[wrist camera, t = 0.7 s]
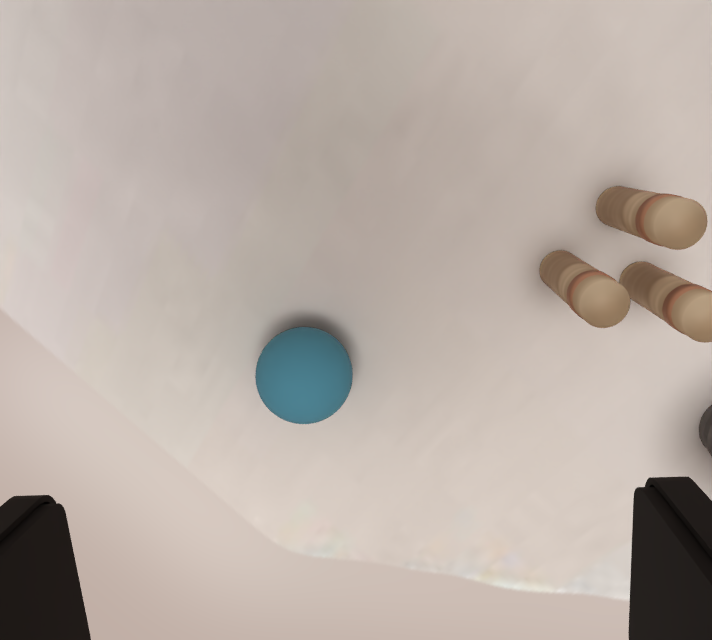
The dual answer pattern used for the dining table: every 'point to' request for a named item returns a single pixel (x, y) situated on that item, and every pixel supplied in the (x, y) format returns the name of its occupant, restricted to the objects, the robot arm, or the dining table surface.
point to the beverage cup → (706, 429)
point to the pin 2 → (671, 299)
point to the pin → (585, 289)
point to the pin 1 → (653, 216)
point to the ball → (304, 375)
